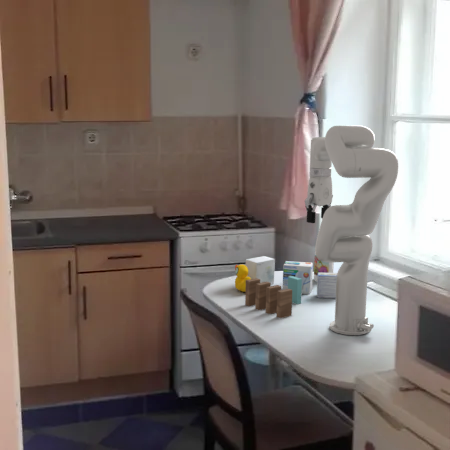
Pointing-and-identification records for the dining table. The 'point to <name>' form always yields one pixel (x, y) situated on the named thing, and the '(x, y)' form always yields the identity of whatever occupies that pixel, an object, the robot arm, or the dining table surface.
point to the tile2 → (272, 299)
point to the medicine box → (326, 285)
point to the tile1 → (284, 303)
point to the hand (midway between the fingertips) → (318, 220)
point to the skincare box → (261, 268)
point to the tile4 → (251, 291)
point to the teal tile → (295, 288)
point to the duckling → (241, 277)
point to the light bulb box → (298, 274)
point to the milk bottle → (322, 267)
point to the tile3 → (261, 295)
